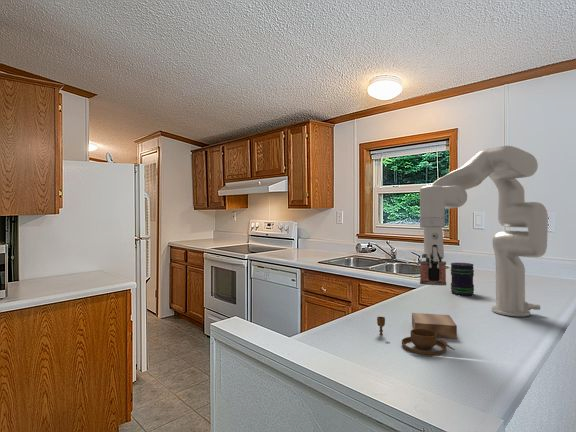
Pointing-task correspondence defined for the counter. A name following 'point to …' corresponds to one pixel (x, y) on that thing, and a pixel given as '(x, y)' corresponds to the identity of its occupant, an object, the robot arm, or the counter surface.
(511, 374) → the counter surface
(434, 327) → the walnut base
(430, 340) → the place setting
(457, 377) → the counter surface
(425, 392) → the counter surface
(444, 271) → the lighter
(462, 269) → the storage jar
